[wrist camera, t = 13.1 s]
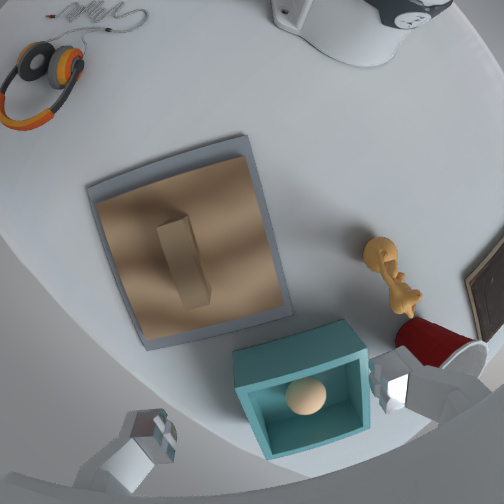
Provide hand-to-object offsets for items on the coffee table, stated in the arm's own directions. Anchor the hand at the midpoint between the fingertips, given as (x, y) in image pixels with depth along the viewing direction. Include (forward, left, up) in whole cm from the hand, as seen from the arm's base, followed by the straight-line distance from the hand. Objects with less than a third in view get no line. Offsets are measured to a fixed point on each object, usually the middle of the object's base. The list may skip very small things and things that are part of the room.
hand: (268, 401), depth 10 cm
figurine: (+4, +14, -22) cm, 26 cm away
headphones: (-29, -14, -22) cm, 40 cm away
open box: (+18, +3, -22) cm, 28 cm away
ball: (+18, +3, -21) cm, 28 cm away
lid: (-2, -5, -21) cm, 22 cm away
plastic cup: (+18, +20, -22) cm, 35 cm away
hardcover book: (+16, +44, -23) cm, 52 cm away
